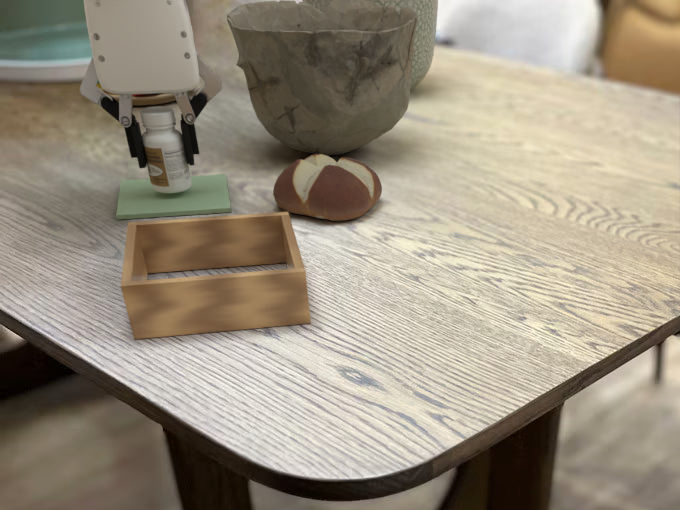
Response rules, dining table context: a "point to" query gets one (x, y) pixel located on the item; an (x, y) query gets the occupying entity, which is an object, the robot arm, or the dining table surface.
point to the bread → (327, 188)
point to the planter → (424, 42)
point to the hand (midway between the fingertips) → (166, 161)
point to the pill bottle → (164, 151)
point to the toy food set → (145, 97)
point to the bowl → (325, 70)
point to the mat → (173, 198)
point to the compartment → (213, 290)
